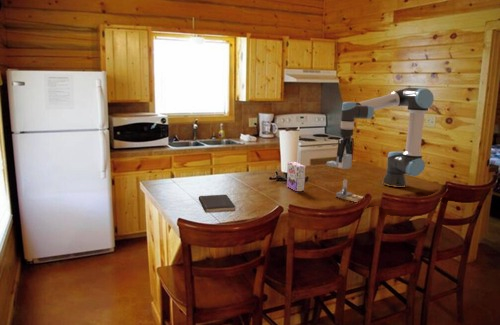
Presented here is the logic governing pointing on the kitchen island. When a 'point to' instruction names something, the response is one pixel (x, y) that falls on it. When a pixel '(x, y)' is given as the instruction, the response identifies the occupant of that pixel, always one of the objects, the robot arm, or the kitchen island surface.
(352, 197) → the frame leaf
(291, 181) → the candy box
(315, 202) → the kitchen island surface
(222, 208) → the hardcover book
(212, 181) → the kitchen island surface
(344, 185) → the gray block on stand
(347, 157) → the grey l-shaped block
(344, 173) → the kitchen island surface
